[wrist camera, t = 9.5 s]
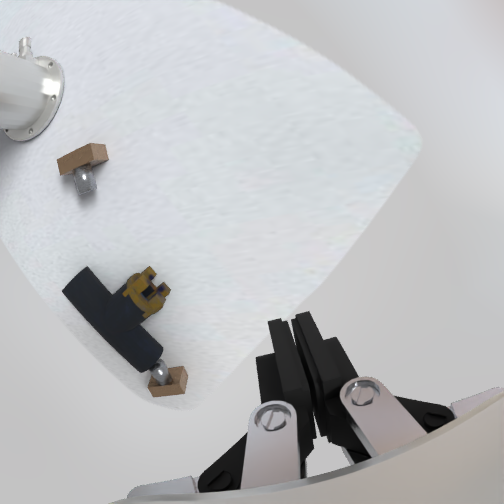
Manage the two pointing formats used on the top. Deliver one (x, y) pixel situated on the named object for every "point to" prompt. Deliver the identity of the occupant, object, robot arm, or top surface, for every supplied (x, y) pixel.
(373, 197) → the top surface
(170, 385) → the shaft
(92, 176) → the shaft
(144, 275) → the pipe connector
